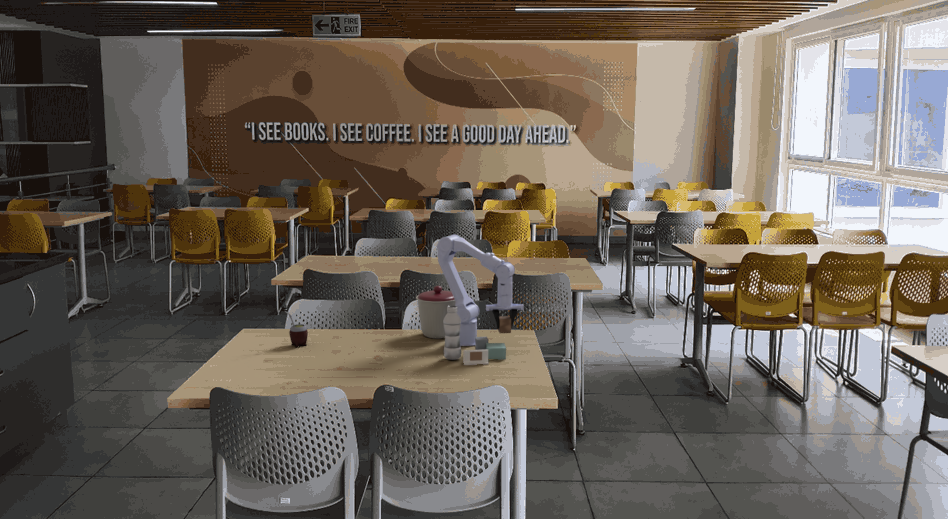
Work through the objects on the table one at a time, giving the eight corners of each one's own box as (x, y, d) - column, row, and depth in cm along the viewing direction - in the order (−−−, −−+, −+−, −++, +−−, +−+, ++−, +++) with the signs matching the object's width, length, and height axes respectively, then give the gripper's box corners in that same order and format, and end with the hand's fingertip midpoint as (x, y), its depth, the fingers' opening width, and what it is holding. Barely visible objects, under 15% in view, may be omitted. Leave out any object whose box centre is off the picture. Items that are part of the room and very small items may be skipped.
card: (464, 365, 257) (464, 351, 257) (463, 362, 260) (463, 349, 260) (488, 364, 259) (488, 351, 258) (487, 361, 261) (487, 348, 261)
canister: (409, 339, 290) (409, 288, 287) (425, 328, 307) (425, 280, 304) (451, 343, 285) (451, 291, 282) (465, 331, 302) (465, 283, 299)
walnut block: (499, 333, 275) (499, 319, 274) (498, 330, 279) (498, 316, 279) (511, 333, 276) (511, 319, 275) (509, 330, 280) (509, 316, 279)
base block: (487, 360, 264) (487, 348, 263) (485, 354, 271) (486, 343, 270) (505, 359, 265) (506, 348, 264) (504, 354, 271) (504, 342, 271)
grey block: (476, 354, 271) (476, 340, 270) (475, 351, 275) (475, 336, 274) (488, 353, 271) (488, 339, 270) (486, 350, 276) (486, 336, 275)
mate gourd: (310, 343, 284) (309, 306, 282) (303, 349, 277) (302, 311, 274) (292, 342, 285) (290, 306, 283) (285, 348, 277) (283, 310, 275)
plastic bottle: (459, 362, 261) (459, 309, 257) (441, 361, 262) (441, 308, 259) (463, 357, 267) (463, 305, 263) (445, 356, 268) (445, 304, 265)
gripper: (487, 296, 270) (487, 331, 273) (525, 295, 272) (524, 330, 274) (485, 292, 277) (485, 326, 279) (521, 291, 279) (521, 325, 281)
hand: (504, 328), depth 277 cm, fingers closed on walnut block, 4 cm apart
